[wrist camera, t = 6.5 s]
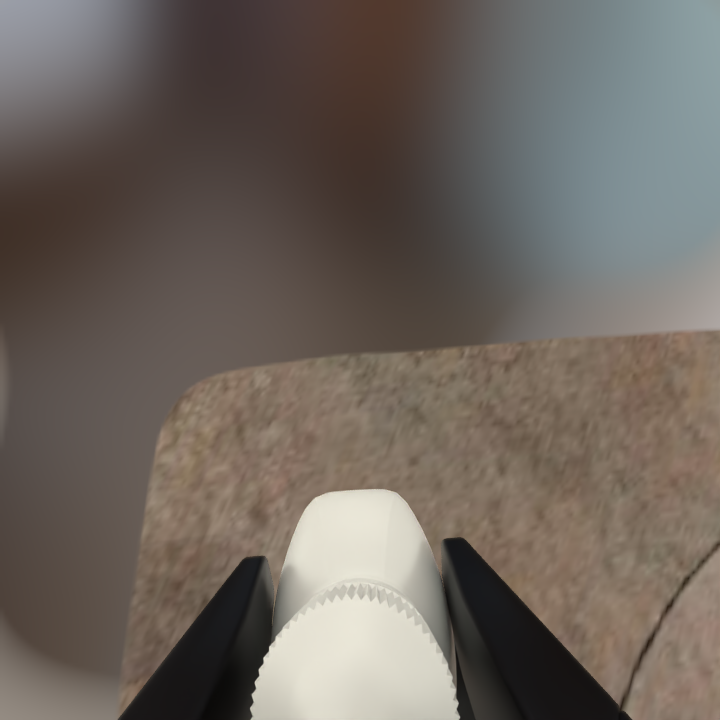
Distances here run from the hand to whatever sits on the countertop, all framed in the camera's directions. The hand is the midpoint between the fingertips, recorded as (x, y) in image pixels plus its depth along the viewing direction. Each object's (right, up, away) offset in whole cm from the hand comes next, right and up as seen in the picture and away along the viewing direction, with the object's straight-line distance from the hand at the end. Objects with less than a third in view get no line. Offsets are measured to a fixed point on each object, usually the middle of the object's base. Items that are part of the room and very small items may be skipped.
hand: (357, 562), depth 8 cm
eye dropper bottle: (0, -4, +7) cm, 8 cm away
